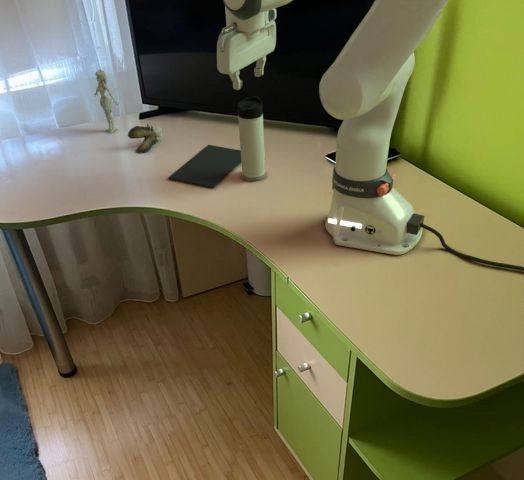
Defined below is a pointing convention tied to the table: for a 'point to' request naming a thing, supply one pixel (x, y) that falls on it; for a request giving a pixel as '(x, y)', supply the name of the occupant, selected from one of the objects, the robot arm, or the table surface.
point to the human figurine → (105, 98)
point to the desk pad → (208, 166)
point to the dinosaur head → (145, 136)
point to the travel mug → (251, 138)
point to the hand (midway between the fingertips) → (248, 82)
